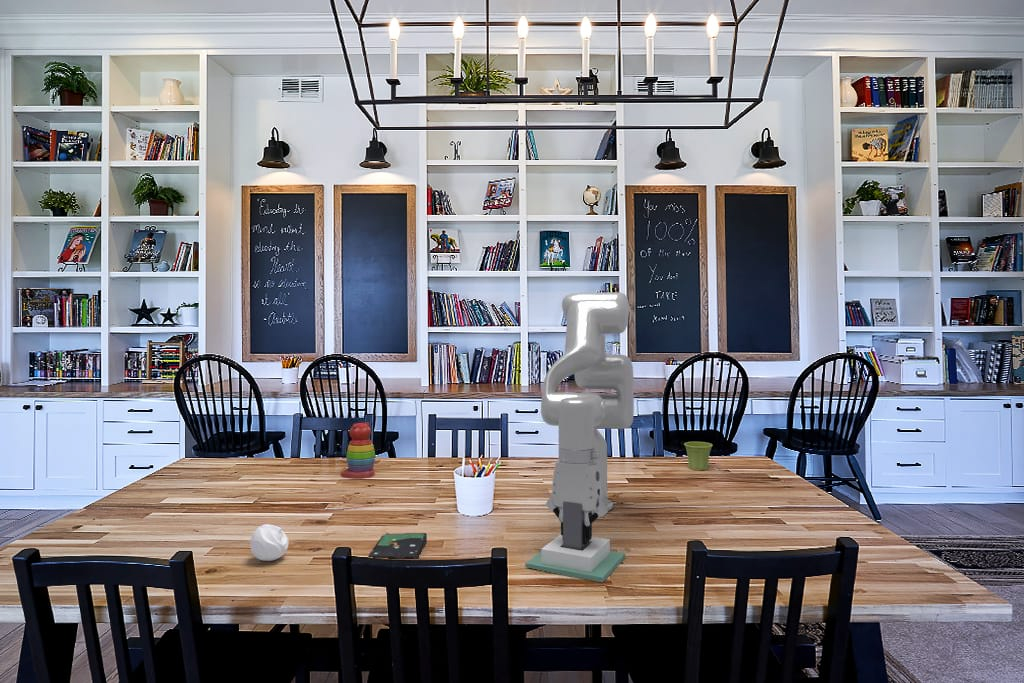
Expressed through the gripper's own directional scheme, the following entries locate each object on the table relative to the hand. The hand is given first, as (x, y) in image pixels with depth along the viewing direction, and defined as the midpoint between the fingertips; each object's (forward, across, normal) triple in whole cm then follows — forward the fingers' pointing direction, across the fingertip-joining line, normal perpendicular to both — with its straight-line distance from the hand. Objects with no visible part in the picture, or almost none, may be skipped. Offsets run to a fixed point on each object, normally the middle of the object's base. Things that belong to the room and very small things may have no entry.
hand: (576, 540), depth 137 cm
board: (+5, 0, 0) cm, 5 cm away
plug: (+1, 0, 0) cm, 1 cm away
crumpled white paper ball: (+5, +60, +28) cm, 67 cm away
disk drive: (+6, +38, +12) cm, 40 cm away
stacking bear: (+5, +94, -41) cm, 102 cm away
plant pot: (+5, -6, -100) cm, 100 cm away
